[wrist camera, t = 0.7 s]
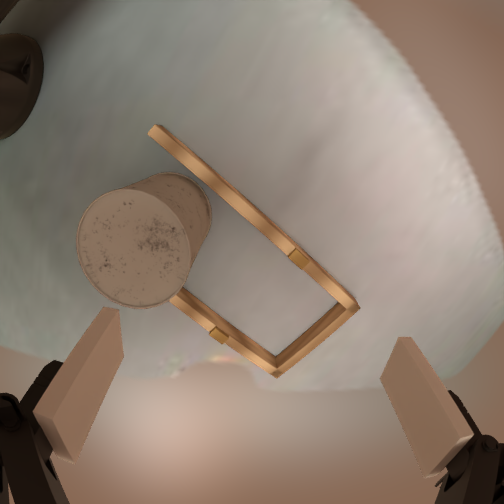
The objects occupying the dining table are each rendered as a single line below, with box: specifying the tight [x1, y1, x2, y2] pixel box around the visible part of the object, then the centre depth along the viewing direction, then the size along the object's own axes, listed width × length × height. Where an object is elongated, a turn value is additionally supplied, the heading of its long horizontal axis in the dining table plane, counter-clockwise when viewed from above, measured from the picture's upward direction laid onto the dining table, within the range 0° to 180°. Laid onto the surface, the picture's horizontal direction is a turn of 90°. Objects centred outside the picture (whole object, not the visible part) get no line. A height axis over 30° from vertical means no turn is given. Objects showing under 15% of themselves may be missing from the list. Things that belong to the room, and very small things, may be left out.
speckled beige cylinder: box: [76, 172, 212, 309], centre depth 28 cm, size 10×10×12 cm
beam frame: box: [147, 125, 360, 378], centre depth 34 cm, size 30×14×3 cm, turn 48°
